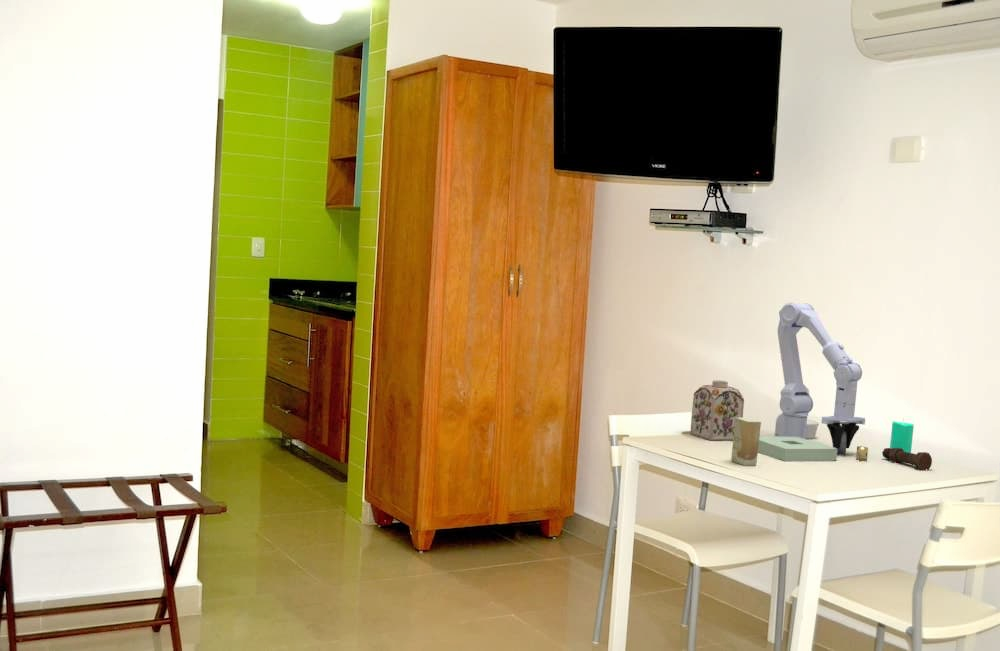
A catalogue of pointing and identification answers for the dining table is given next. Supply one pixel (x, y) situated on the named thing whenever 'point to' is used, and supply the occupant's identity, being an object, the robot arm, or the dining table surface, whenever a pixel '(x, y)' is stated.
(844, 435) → the tall pin
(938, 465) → the dining table surface
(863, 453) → the short pin
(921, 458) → the bolt
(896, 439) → the candle
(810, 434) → the ramekin
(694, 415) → the decorative jar
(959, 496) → the dining table surface
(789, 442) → the collar plate
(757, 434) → the skincare box
